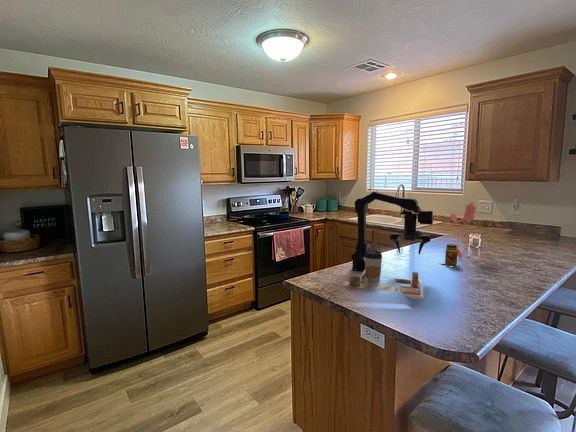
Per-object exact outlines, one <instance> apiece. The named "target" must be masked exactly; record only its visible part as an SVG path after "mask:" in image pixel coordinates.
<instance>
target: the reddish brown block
mask: <svg viewBox="0 0 576 432" xmlns="http://www.w3.org/2000/svg"><path fill="white" fill-rule="evenodd" d="M417 289H418V288H400V287H399V290H400V292H401V293H403V294H404V295H405V294H410V295H418V296H420V293H419V291H418V290H417Z"/></svg>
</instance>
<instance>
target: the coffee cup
mask: <svg viewBox="0 0 576 432" xmlns="http://www.w3.org/2000/svg"><path fill="white" fill-rule="evenodd" d="M364 258H365V269H364V270H365V273H366V277H365V278H368V282H372V283H378V282H379V281H380V280H381V272H382V271H381V270H382V259H383V254H382V252H381V251H379V250H370V251H366V253H365V257H364Z"/></svg>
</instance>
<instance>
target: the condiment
mask: <svg viewBox="0 0 576 432" xmlns="http://www.w3.org/2000/svg"><path fill="white" fill-rule="evenodd" d="M457 249H458V244H453V243H451V244H446V248H445V259H444V260H445V261H444V263H445V265H447V266H446V267H448V266H457V265H458V256H457V253H458V251H457ZM445 265H444V266H445ZM457 267H458V266H457Z"/></svg>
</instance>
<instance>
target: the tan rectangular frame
mask: <svg viewBox="0 0 576 432" xmlns="http://www.w3.org/2000/svg"><path fill="white" fill-rule="evenodd" d="M411 275H412V276H411V279H412V280H409V278H402V279H399V278H400V277H392V279H393V280H395V282H402V283H410V286H408V285H397V284H392V287H399V288H400V287H403V288H417V289H418V288H419V283H418V280H419V272H415V271H412V273H411ZM364 278H366V273H365V269H364V271H362V274H361V275H360V283H364ZM382 278H386V279H390V277H388V276H382ZM368 284H373V282H372V281H368ZM374 285H382V283H379V282H374ZM383 286H391V284H389V283H387V284H386V283H383Z"/></svg>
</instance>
